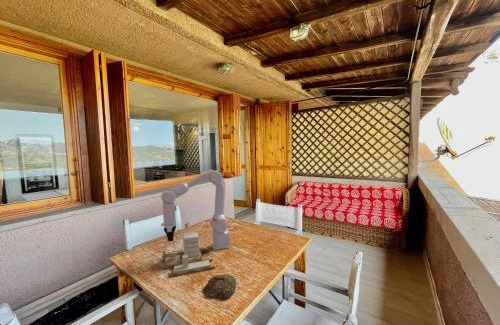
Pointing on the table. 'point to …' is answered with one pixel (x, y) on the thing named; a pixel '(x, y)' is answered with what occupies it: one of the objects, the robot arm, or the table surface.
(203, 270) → the lane frame
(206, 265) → the strip
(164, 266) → the wooden tray
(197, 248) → the supplement box
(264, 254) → the table surface
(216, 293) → the bread roll
